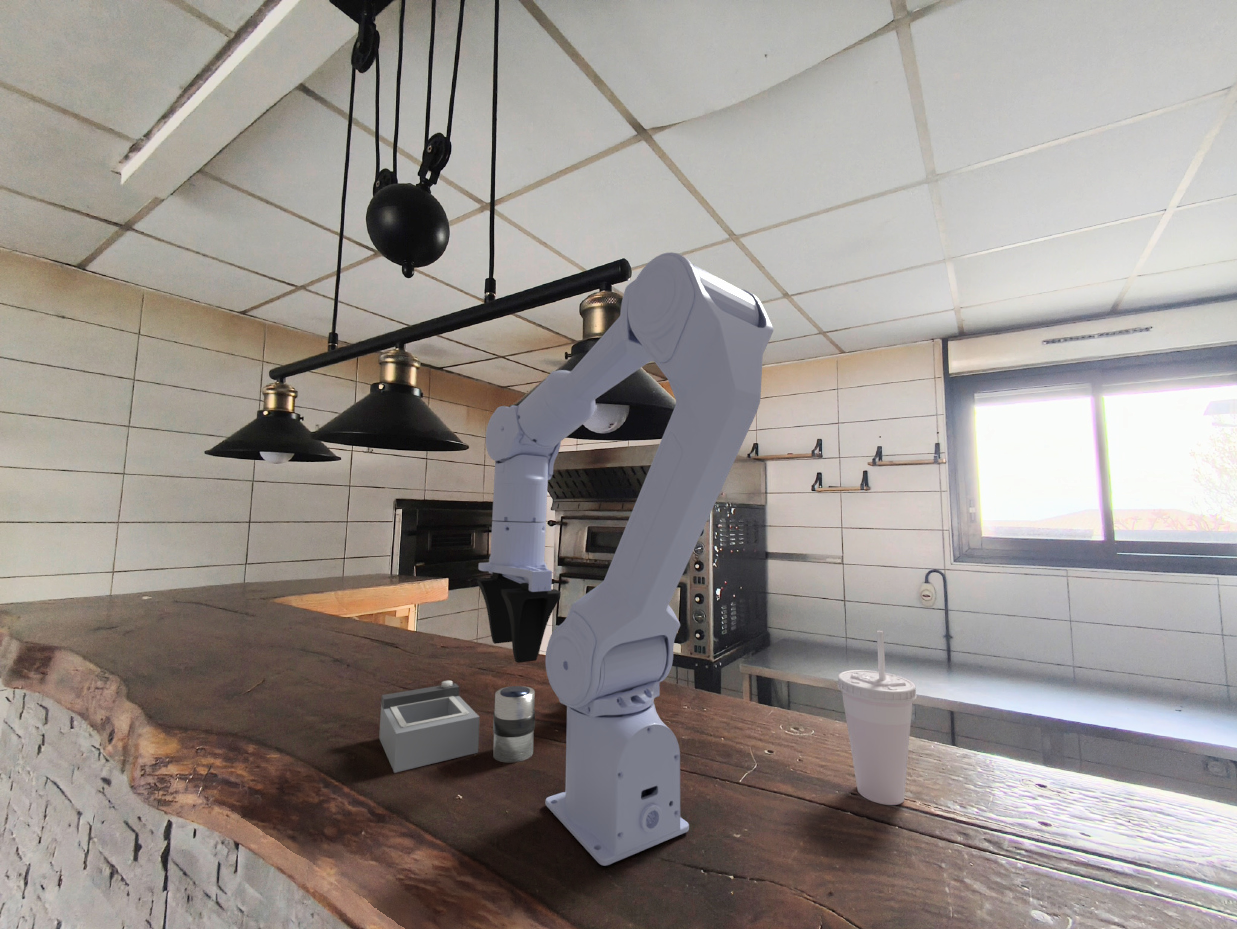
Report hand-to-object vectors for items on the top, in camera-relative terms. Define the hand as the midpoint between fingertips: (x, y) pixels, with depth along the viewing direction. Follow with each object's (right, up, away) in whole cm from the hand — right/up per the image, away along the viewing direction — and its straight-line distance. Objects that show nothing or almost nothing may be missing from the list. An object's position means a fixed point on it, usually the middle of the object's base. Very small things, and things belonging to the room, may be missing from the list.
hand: (513, 650), depth 54 cm
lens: (0, -10, -2) cm, 10 cm away
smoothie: (+34, -10, -9) cm, 37 cm away
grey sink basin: (-9, -10, 0) cm, 13 cm away
